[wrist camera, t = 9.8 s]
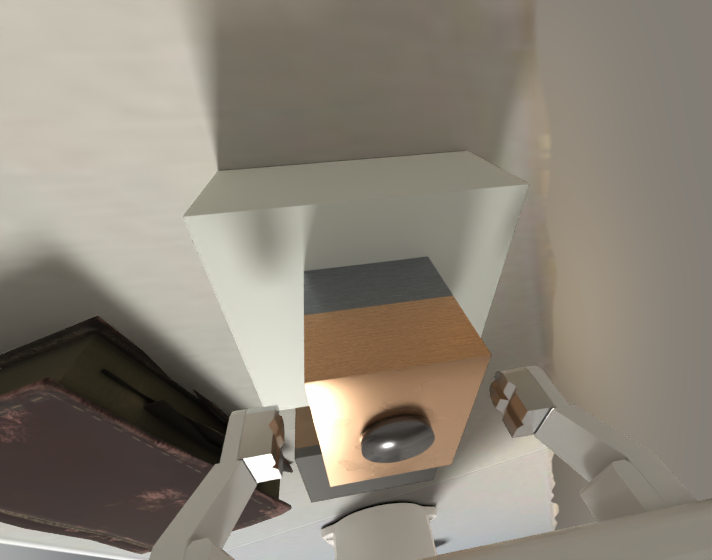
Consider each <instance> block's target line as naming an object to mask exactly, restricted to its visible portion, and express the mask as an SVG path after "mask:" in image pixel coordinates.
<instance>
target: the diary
mask: <svg viewBox="0 0 712 560" xmlns="http://www.w3.org/2000/svg"><path fill="white" fill-rule="evenodd" d="M0 368H1V369H0V522H2V523H6V524H10V525H14V526H17V527H21V528H25V529H31V530H36V531H42V532H48V533H54V534H60V535H65V536H71V537H77V538H83V539H89V540H93V541H96V542H100V543H103V544H107V545H110V546H113V547H117V548H120V549H124V550H127V551H131V552H134V553H138V554H144V553H147V552H151V551H152V549H153V546H154V545H155V543H156V542H157V541H158V539H159V538H160V537H161V535H162V534H163V533H164V531H165V530H166V529H167V527H168V526H169V525H170V523H171V522H172V521H173V519H174V518H175V517H176V515H177V514H178V513H179V511H180V510H181V509H182V507H183V506H184V505H185V503H186V502H187V501H188V500H189V498H190V497H191V496H192V494H193V493H194V492H195V490H196V489H197V488H198V486H199V485H200V484H201V482H202V481H203V480H204V478H205V477H206V476H207V474H208V473H209V472H210V470H211V469H212V468H213V466H214V465H215V464H219V463H220V459H221V455H222V450H223V445H224V440H225V436H226V431H227V426H228V422H229V417H227V416H226V415H225V414H224V413H223V412H222V411H221V410H220V409H219V408H217V407H216V406H215V405H214V404H213V403H211V402H210V401H209V400H208V399H206V398H205V397H203V396H202V395H200V394H199V393H198V392H196V391H195V390H194V392H195V393H196V395H197V396H198V398H199V399H200V400H199V399H197V398H196V397H195V396H193V395H192V394H190V393H189V392H188V391H186V390H185V389H184V388H182V387H181V386H179V385H178V384H177V383H175V382H174V381H173V380H171V379H170V378H169V377H168V376H167V375H166V374H165V373H164V372H163V371H162V370H161V369H160V368H159V367H158V366H157V365H156V364H155V363H154V362H153V361H152V360H151V359H150V358H149V357H148V356H147V355H146V354H145V353H144V352H143V351H142V350H141V349H140V348H138V347H137V346H136V345H134V344H133V343H132V342H131V341H129V340H128V339H127V338H126V337H124V336H123V335H122V334H120V333H119V332H118V331H117V330H115V329H114V328H113V327H112V326H110V325H109V324H108V323H106V322H105V321H104V320H102V319H101V318H100V317H98V316H96V317H94V318H91V319H89V320H86V321H84V322H81V323H79V324H76V325H74V326H71V327H69V328H66V329H64V330H62V331H59V332H57V333H54V334H52V335H49V336H47V337H44V338H42V339H39V340H37V341H34V342H32V343H29V344H27V345H24V346H22V347H19V348H17V349H15V350H12V351H10V352H7V353H5V354H2V355H0ZM283 471H286V472H291V473H292V472H293V470H292V468H291V466H290V465H289V463H288V462H287V461H286V460H285V459H284V458H283ZM283 471H282V472H283ZM256 484H257V486H256V488H255V489H254V491H253V493H252V495H251V497H250V499H249V500H248V502H247V504H246V506H245V508H244V510H243V511H242V513H241V515H240V517H239V519H238V521H237V522H236V524H235V526H234V528H233V530H232V531H235V530H238V529H242V528H245V527H248V526H251V525H254V524H257V523H259V522H262V521H265V520H268V519H271V518H273V517H276V516H279V515H282V514H284V513H285V512H287V511H289V510H290V509H291V508H292V507H291V505H289V504H288V503H286V502H284V501H282V500H279V486H280V478H279V479H274V480H269V481H264V482H259V483H256Z"/></svg>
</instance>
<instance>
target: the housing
mask: <svg viewBox="0 0 712 560" xmlns="http://www.w3.org/2000/svg"><path fill="white" fill-rule="evenodd" d="M490 357H491V353H490V352H489V350H488V348H487V347H486V345H485V344H484V342H483V341H482V339H481V338H480V336H479V335H478V333H477V331H476V330H475V328H474V327H473V325H472V324H471V322H470V321H469V319H468V318H467V316H466V314H465V313H464V311H463V310H462V308H461V307H460V305H459V304H458V302H457V300H456V299H455V297H454V296H453V294H452V293H451V291H450V290H449V288H448V287H447V285H446V283H445V282H444V280H443V279H442V277H441V276H440V274H439V273H438V271H437V270H436V268H435V266H434V265H433V263H432V262H431V260H430V259H429V257H419V258H411V259H402V260H394V261H385V262H377V263H368V264H360V265H351V266H343V267H334V268H326V269H317V270H309V271H304V384H305V388H306V392H307V396H308V400H309V404H310V408H311V412H312V416H313V420H314V424H315V428H316V432H317V436H318V439H319V443H320V447H321V451H322V455H323V459H324V463H325V467H326V471H327V475H328V479H329V483H330V487H332V486H337V485H343V484H348V483H354V482H359V481H364V480H370V479H375V478H381V477H386V476H391V475H397V474H402V473H408V472H413V471H418V470H424V469H429V468H435V467H440V466H445V465H451V464H452V462H453V459H454V456H455V453H456V451H457V448H458V445H459V442H460V440H461V437H462V434H463V431H464V429H465V426H466V423H467V420H468V418H469V415H470V412H471V409H472V407H473V404H474V401H475V398H476V396H477V393H478V390H479V387H480V385H481V382H482V379H483V377H484V374H485V371H486V368H487V366H488V363H489V360H490Z"/></svg>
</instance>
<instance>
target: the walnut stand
mask: <svg viewBox="0 0 712 560" xmlns="http://www.w3.org/2000/svg"><path fill="white" fill-rule="evenodd" d="M295 461H296V464H297V466H298V469H299V471H300V474H301V477H302V479H303V482H304V485H305V487H306V490H307V492H308V495H309V498H310V500H311V503H312V502H317V501H323V500H328V499H333V498H339V497H344V496H349V495H354V494H360V493H365V492H370V491H376V490H381V489H386V488H392V487H397V486H402V485H408V484H413V483H418V482H424V481H429V480H433V479H434V476H435V473H436V469H437V467H435V468H429V469H424V470H418V471H413V472H408V473H402V474H397V475H391V476H386V477H381V478H375V479H370V480H364V481H359V482H354V483H348V484H343V485H337V486H332V487H330V483H329V479H328V475H327V471H326V467H325V463H324V459H323V455H322V451H321V447H320V443H319V439H318V436H317V432H316V428H315V424H314V420H313V416H312V412H311V408H310V406H305V407H298V408H296V418H295Z"/></svg>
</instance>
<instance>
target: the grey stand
mask: <svg viewBox="0 0 712 560" xmlns="http://www.w3.org/2000/svg"><path fill="white" fill-rule="evenodd" d="M528 187H529V184H528V183H526V182H525V181H523V180H521V179H519V178H517V177H515V176H513V175H512V174H510V173H508V172H506V171H504V170H502V169H500V168H499V167H497V166H495V165H493V164H491V163H489V162H487V161H486V160H484V159H482V158H480V157H478V156H476V155H474V154H473V153H471V152H469V151H459V152H446V153H434V154H422V155H409V156H397V157H385V158H373V159H360V160H348V161H336V162H324V163H311V164H299V165H287V166H274V167H262V168H250V169H238V170H225V171H218V172H217V173H216V174H215V175H214V177H213V178H212V179H211V181H210V182H209V183H208V184H207V186H206V187H205V188H204V190H203V191H202V192H201V194H200V195H199V196H198V197H197V199H196V200H195V201H194V203H193V204H192V205H191V206H190V208H189V209H188V210H187V212H186V213H185V214H184V215H183V219H184V222H185V224H186V226H187V229H188V231H189V233H190V236H191V238H192V241H193V243H194V245H195V248H196V250H197V252H198V255H199V257H200V259H201V262H202V264H203V266H204V269H205V271H206V273H207V276H208V278H209V280H210V283H211V285H212V288H213V290H214V292H215V295H216V297H217V299H218V302H219V304H220V306H221V309H222V311H223V313H224V316H225V318H226V320H227V323H228V325H229V327H230V330H231V332H232V335H233V337H234V339H235V342H236V344H237V346H238V349H239V351H240V353H241V356H242V358H243V360H244V363H245V365H246V367H247V370H248V372H249V374H250V377H251V379H252V382H253V384H254V386H255V389H256V391H257V393H258V396H259V398H260V400H261V403H262V405H263V407H264V406H271V405H278V408H279V410H286V409H292V408H298V407H305V406H310V404H309V400H308V396H307V392H306V388H305V384H304V271H309V270H317V269H326V268H334V267H343V266H351V265H360V264H368V263H377V262H385V261H394V260H402V259H411V258H419V257H429V259H430V260H431V262H432V263H433V265H434V266H435V268H436V270H437V271H438V273H439V274H440V276H441V277H442V279H443V280H444V282H445V283H446V285H447V287H448V288H449V290H450V291H451V293H452V294H453V296H454V297H455V299H456V300H457V302H458V304H459V305H460V307H461V308H462V310H463V311H464V313H465V314H466V316H467V318H468V319H469V321H470V322H471V324H472V325H473V327H474V328H475V330H476V331H477V333H478V335H479V336H480V338H481V335H482V332H483V329H484V326H485V323H486V319H487V316H488V313H489V310H490V307H491V304H492V301H493V297H494V294H495V291H496V288H497V285H498V282H499V278H500V275H501V272H502V269H503V266H504V263H505V260H506V256H507V253H508V250H509V247H510V244H511V241H512V237H513V234H514V231H515V228H516V225H517V222H518V219H519V215H520V212H521V209H522V206H523V203H524V200H525V197H526V193H527V190H528Z"/></svg>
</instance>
